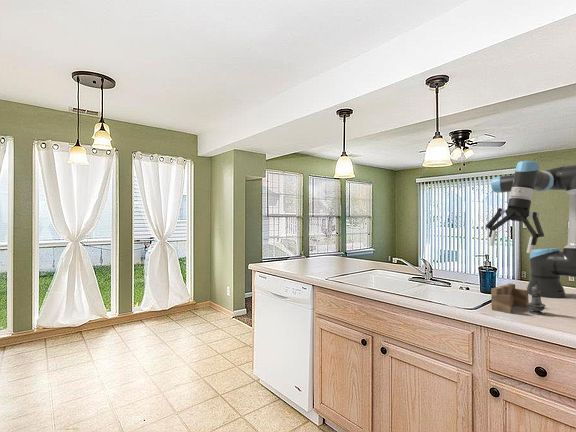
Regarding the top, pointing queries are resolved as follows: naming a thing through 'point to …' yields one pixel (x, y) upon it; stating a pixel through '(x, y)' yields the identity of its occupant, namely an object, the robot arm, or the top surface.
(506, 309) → the brown wooden u-shaped block
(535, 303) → the grey chess piece
